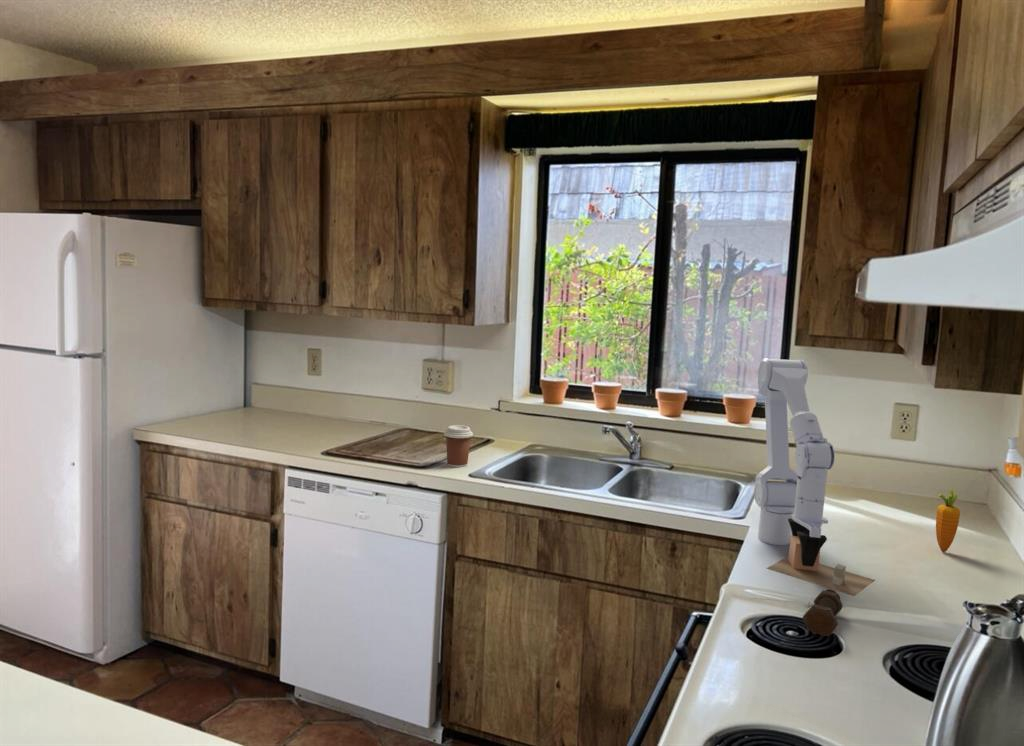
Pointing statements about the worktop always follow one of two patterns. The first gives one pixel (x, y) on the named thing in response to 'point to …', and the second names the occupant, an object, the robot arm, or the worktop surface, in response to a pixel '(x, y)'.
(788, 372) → the robot arm
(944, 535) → the carrot
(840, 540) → the worktop surface
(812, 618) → the bolt
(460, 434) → the coffee cup
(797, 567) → the salmon orange block
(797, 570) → the board
